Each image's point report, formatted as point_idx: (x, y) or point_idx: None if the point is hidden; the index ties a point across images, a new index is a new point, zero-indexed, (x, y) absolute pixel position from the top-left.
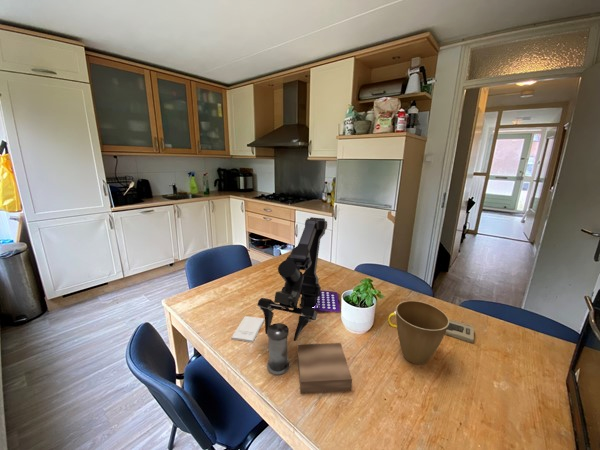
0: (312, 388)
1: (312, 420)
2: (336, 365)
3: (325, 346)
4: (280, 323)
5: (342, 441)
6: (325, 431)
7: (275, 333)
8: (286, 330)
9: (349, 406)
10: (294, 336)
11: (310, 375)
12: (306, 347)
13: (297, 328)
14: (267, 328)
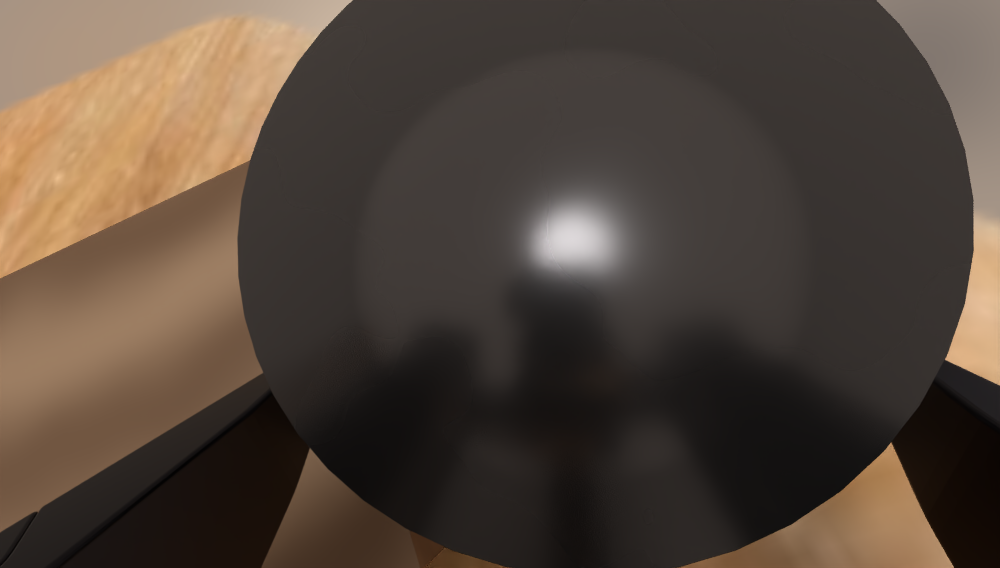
0: None
1: (264, 83)
2: (41, 394)
3: None
4: (622, 554)
5: (137, 60)
6: (204, 65)
7: (556, 25)
8: (297, 254)
9: (92, 221)
10: (261, 393)
11: (232, 218)
12: (313, 550)
13: (78, 523)
14: (990, 420)
